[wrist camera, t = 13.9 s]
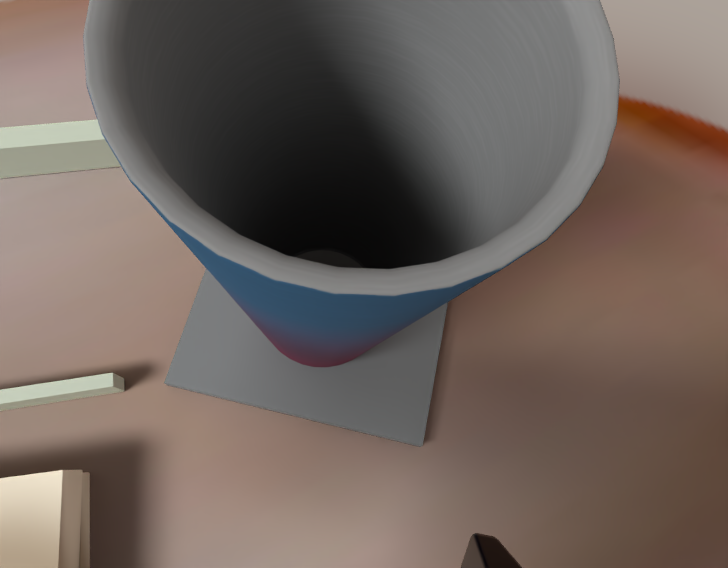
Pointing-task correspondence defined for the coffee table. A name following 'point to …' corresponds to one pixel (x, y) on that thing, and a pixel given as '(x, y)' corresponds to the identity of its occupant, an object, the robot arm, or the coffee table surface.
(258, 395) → the mat
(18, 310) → the coffee table surface
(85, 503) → the offcut bottom
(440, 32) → the cup
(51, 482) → the offcut top
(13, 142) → the rack
